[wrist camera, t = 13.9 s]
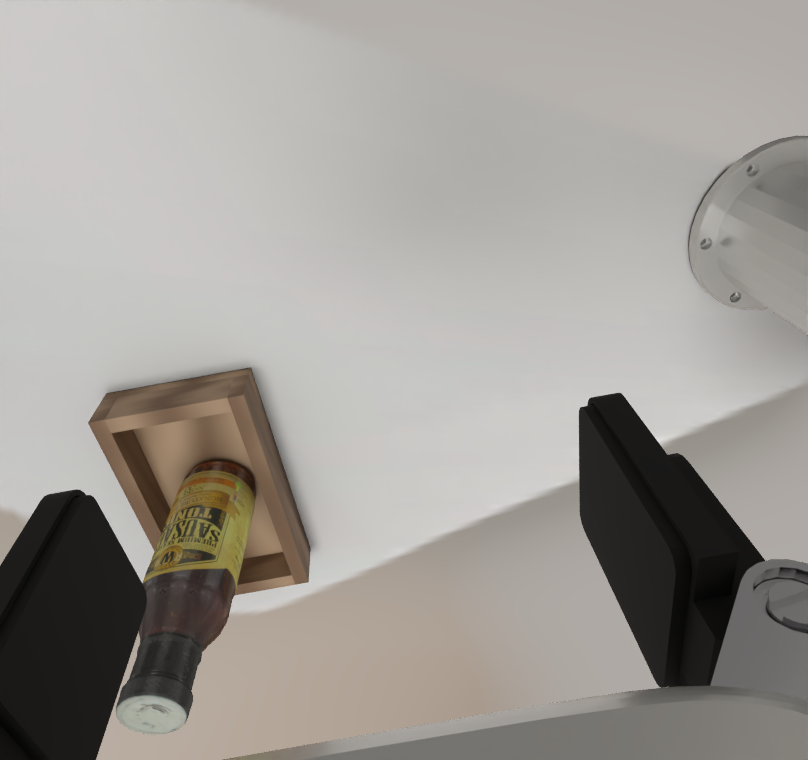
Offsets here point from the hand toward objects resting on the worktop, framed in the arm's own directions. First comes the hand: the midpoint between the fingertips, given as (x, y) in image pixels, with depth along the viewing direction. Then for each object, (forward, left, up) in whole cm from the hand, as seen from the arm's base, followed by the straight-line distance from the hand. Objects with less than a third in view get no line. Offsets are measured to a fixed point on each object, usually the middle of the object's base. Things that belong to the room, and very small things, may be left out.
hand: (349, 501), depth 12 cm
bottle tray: (+16, +24, -33) cm, 44 cm away
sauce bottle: (+16, +24, -32) cm, 43 cm away
